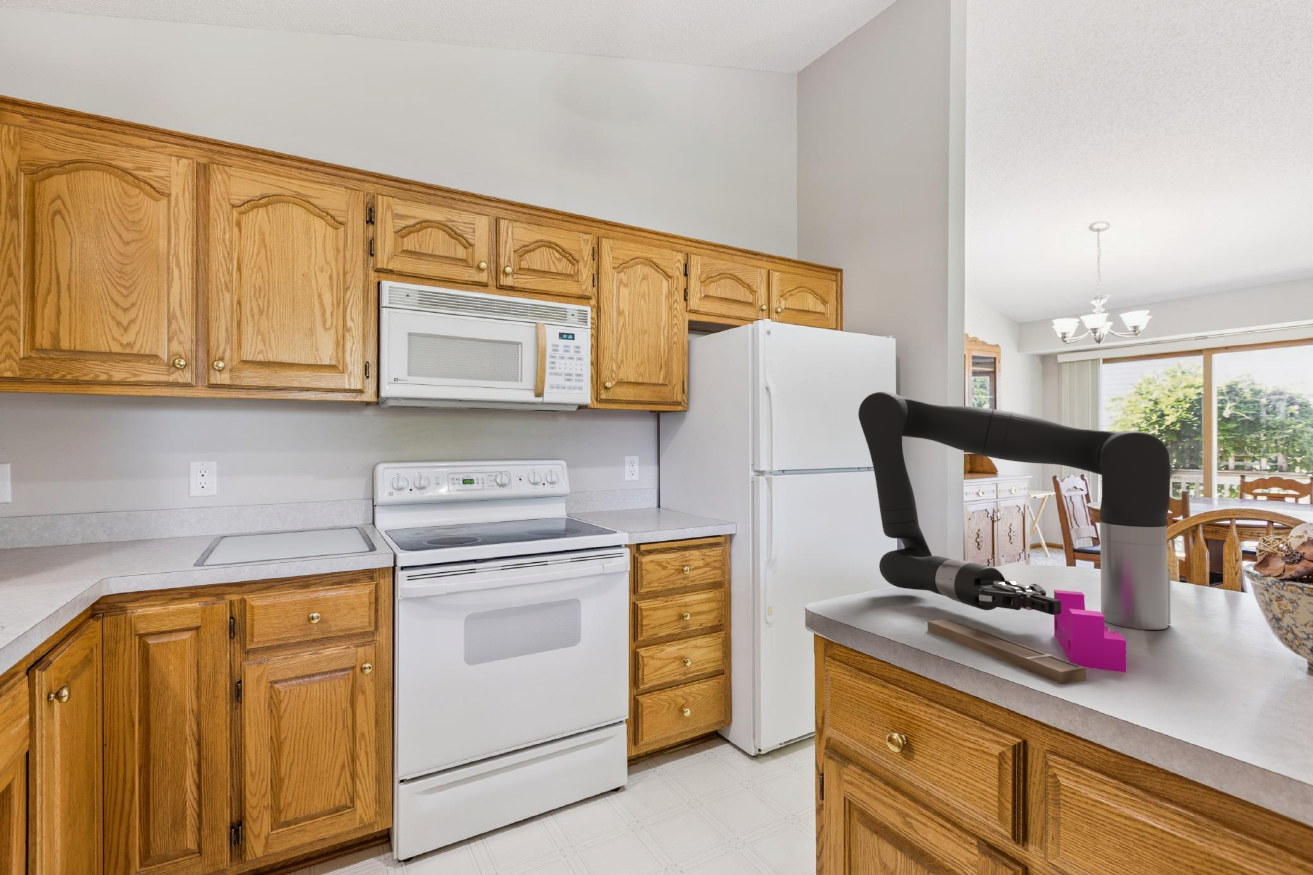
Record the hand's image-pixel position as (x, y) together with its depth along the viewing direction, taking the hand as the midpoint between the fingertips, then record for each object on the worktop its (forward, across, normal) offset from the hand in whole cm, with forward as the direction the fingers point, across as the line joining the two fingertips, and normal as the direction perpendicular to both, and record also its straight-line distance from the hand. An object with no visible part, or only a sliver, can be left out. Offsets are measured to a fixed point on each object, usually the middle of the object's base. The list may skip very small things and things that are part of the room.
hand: (1057, 607), depth 95 cm
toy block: (+3, +2, +6) cm, 7 cm away
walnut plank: (-1, -10, +6) cm, 12 cm away
